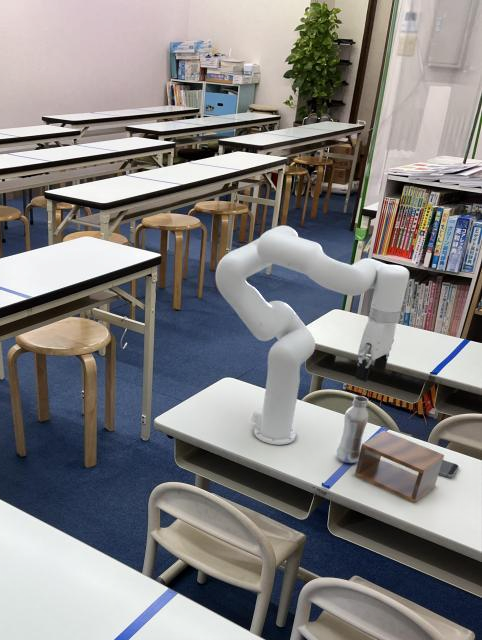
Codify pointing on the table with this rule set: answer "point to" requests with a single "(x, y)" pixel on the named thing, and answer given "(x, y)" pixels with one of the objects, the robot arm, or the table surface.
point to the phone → (448, 469)
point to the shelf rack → (394, 476)
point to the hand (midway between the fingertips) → (370, 374)
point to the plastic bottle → (353, 430)
